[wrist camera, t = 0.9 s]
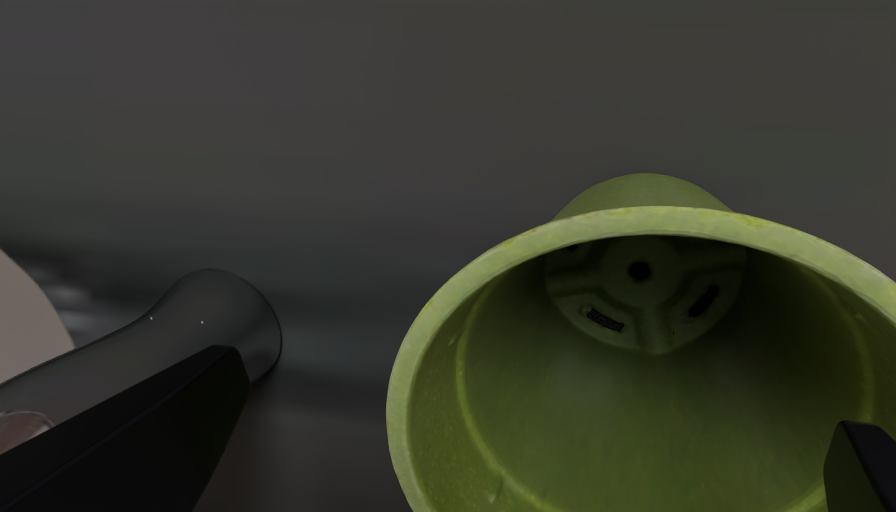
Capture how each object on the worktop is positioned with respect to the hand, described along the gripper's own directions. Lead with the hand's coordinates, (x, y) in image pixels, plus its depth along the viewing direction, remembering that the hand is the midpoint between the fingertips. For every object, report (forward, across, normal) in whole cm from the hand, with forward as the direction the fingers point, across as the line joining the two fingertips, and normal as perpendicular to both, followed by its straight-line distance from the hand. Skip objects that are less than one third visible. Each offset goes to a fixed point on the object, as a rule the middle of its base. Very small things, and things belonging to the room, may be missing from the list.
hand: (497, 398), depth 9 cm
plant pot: (+14, -2, +6) cm, 15 cm away
